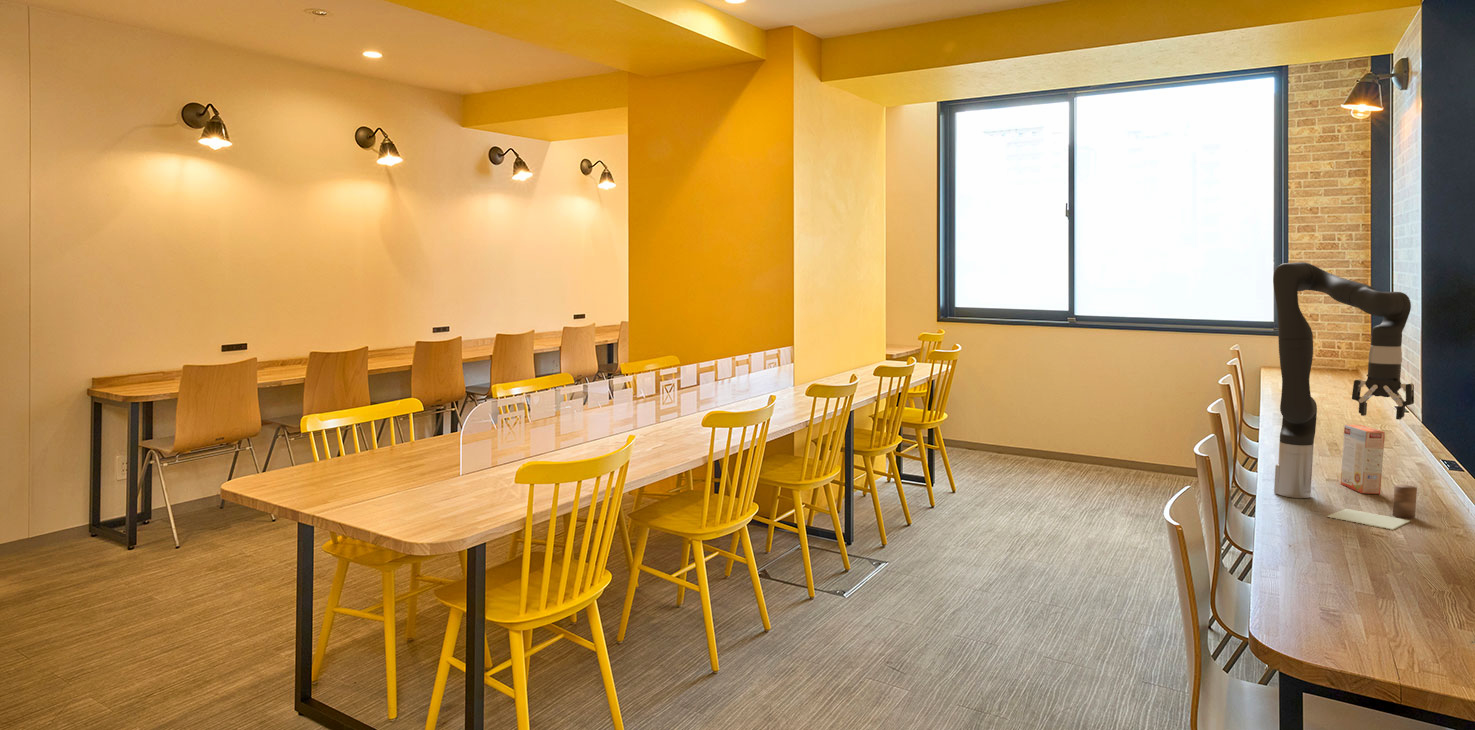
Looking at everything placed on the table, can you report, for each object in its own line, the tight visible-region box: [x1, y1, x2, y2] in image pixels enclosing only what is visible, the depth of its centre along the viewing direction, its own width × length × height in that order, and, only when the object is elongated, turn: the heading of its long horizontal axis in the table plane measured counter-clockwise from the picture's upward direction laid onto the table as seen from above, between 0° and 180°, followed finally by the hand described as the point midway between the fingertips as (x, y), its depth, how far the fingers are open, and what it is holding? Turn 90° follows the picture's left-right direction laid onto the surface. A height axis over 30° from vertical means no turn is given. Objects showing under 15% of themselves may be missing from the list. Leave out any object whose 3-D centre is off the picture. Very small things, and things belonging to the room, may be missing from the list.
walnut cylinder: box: [1392, 484, 1418, 520], centre depth 250 cm, size 5×5×9 cm
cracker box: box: [1340, 424, 1386, 495], centre depth 281 cm, size 14×6×21 cm, turn 168°
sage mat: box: [1326, 508, 1411, 531], centre depth 247 cm, size 16×14×1 cm
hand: (1381, 417), depth 245 cm, fingers open, 8 cm apart
